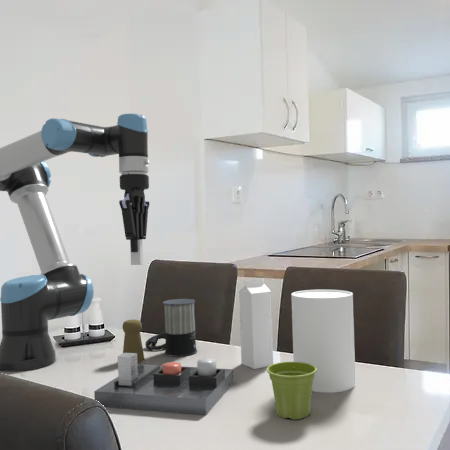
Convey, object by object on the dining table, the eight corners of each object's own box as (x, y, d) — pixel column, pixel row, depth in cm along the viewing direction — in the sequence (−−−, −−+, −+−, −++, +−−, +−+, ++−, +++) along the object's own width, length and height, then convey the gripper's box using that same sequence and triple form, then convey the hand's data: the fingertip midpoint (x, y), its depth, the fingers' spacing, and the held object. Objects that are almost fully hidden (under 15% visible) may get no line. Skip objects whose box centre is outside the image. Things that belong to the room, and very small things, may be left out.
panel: (94, 405, 103) (93, 381, 103) (138, 376, 122) (138, 355, 122) (206, 415, 96) (205, 388, 96) (234, 382, 115) (233, 360, 115)
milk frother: (195, 356, 139) (193, 303, 139) (138, 358, 140) (136, 304, 140) (199, 344, 153) (198, 295, 153) (148, 345, 154) (146, 297, 154)
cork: (139, 364, 133) (138, 322, 133) (118, 363, 135) (117, 322, 135) (147, 357, 139) (146, 318, 139) (127, 357, 140) (125, 317, 140)
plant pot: (284, 427, 89) (282, 378, 89) (259, 410, 98) (258, 365, 98) (328, 418, 93) (326, 371, 93) (300, 402, 102) (299, 359, 102)
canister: (288, 389, 109) (285, 297, 109) (300, 371, 122) (298, 289, 122) (352, 394, 105) (349, 298, 105) (358, 375, 117) (355, 290, 117)
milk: (273, 365, 128) (271, 279, 128) (253, 369, 125) (251, 280, 125) (260, 360, 133) (258, 276, 133) (240, 363, 130) (238, 278, 130)
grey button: (194, 377, 105) (194, 363, 105) (201, 371, 109) (200, 357, 109) (213, 378, 104) (212, 363, 104) (218, 372, 108) (218, 358, 108)
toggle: (118, 385, 106) (117, 356, 106) (125, 380, 108) (124, 352, 108) (131, 385, 105) (130, 357, 105) (138, 381, 108) (137, 353, 108)
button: (159, 380, 108) (159, 366, 108) (167, 375, 111) (166, 361, 111) (177, 382, 106) (176, 367, 106) (184, 376, 110) (183, 362, 110)
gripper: (135, 171, 124) (138, 266, 125) (157, 175, 137) (160, 262, 137) (108, 173, 127) (111, 267, 127) (132, 177, 139) (135, 262, 139)
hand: (136, 264), depth 132 cm, fingers closed
